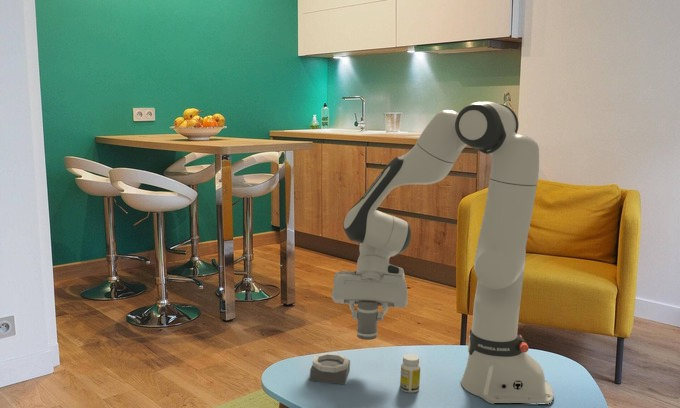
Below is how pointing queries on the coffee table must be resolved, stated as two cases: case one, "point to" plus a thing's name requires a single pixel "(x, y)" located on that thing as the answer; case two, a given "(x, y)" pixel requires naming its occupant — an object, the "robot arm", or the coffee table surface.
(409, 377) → the supplement bottle
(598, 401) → the coffee table surface
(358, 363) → the coffee table surface
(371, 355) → the coffee table surface
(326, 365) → the octagonal ring tray
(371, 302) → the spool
